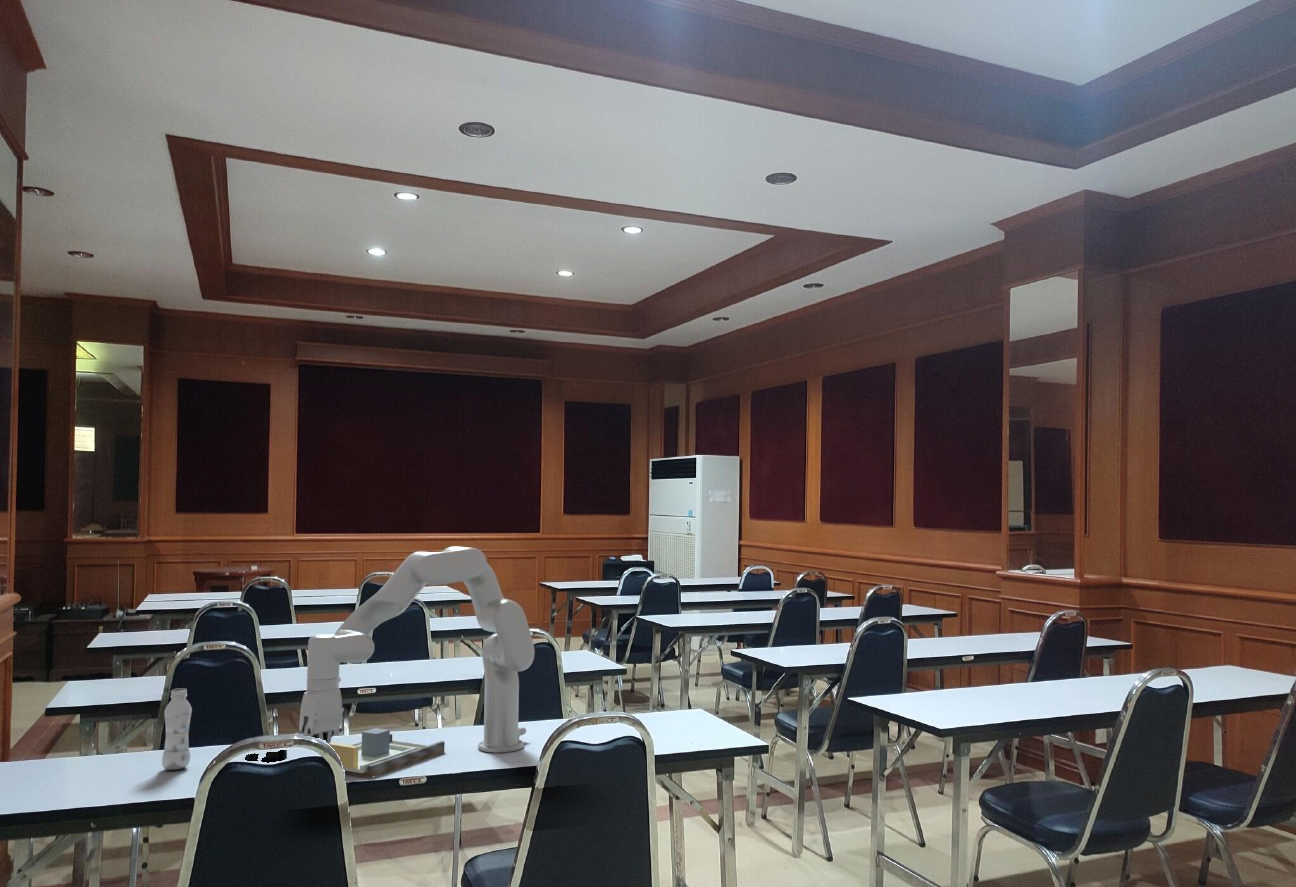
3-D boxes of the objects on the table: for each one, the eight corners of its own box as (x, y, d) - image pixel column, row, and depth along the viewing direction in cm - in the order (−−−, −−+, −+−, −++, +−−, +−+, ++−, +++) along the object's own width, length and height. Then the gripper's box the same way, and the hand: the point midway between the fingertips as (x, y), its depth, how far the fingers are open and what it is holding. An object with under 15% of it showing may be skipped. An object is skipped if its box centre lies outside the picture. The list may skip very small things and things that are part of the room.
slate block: (375, 750, 244) (375, 727, 245) (389, 752, 242) (389, 729, 243) (361, 754, 240) (362, 731, 240) (375, 757, 238) (376, 733, 238)
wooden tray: (371, 747, 251) (372, 726, 251) (416, 754, 244) (417, 732, 244) (315, 765, 233) (315, 742, 233) (362, 773, 226) (362, 749, 226)
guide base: (388, 743, 260) (389, 733, 260) (444, 751, 251) (444, 741, 251) (312, 767, 235) (312, 756, 235) (371, 777, 226) (371, 766, 226)
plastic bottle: (158, 773, 229) (161, 692, 231) (164, 766, 236) (168, 687, 237) (186, 771, 231) (189, 691, 232) (192, 764, 237) (195, 686, 239)
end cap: (285, 764, 238) (286, 738, 238) (287, 771, 231) (288, 744, 232) (243, 769, 234) (244, 742, 234) (244, 776, 227) (245, 748, 228)
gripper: (334, 678, 234) (332, 751, 233) (288, 688, 221) (285, 766, 220) (356, 681, 231) (354, 755, 229) (310, 691, 218) (308, 770, 216)
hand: (320, 760), depth 224 cm, fingers closed
